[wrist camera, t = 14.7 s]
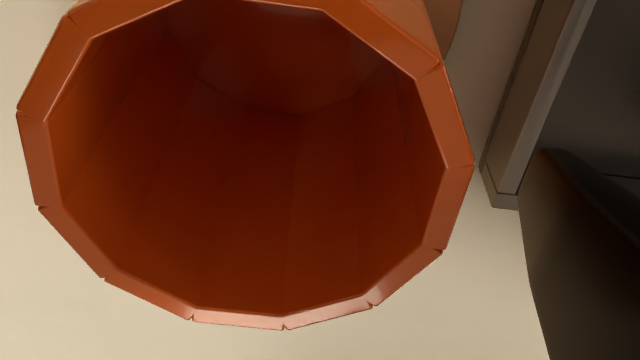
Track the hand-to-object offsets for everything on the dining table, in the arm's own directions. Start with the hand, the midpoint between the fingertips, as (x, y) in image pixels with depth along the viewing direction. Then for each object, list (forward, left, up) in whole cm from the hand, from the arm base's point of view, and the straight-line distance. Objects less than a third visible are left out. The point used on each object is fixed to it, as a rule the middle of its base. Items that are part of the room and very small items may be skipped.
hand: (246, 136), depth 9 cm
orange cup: (0, 0, -6) cm, 6 cm away
